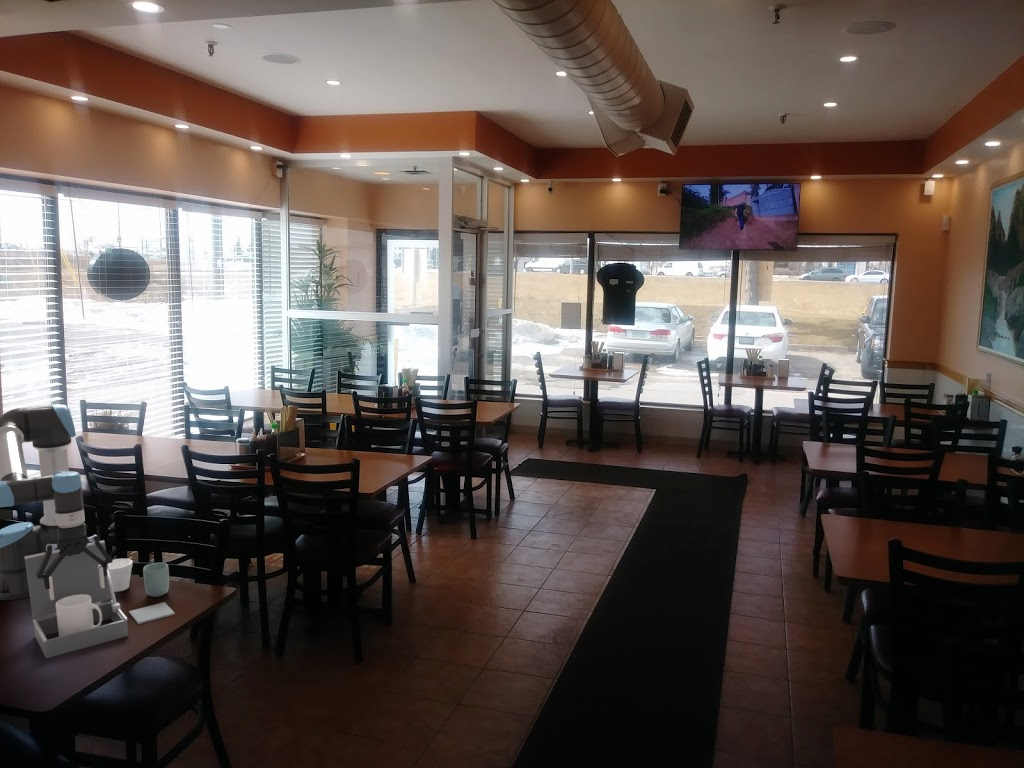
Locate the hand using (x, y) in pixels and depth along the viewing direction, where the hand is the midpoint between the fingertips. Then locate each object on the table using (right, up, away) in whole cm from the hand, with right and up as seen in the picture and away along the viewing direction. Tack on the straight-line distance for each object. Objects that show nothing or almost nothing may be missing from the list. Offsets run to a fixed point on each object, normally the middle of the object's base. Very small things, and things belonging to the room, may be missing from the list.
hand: (77, 592), depth 244 cm
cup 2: (+10, -9, +33) cm, 36 cm away
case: (0, -14, +2) cm, 14 cm away
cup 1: (-6, -9, +38) cm, 40 cm away
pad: (+15, -11, +18) cm, 25 cm away
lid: (-7, +2, +8) cm, 11 cm away
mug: (0, -14, +2) cm, 14 cm away
